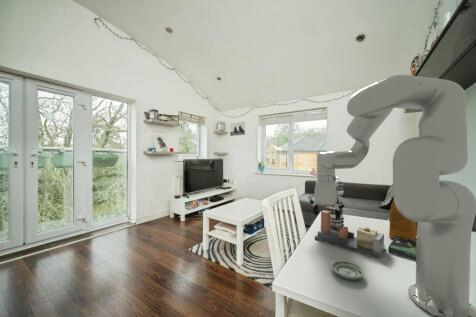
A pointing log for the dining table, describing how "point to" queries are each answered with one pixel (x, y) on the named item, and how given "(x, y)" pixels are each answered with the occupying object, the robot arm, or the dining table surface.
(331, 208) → the decorative candle
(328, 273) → the dining table surface
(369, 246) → the maple block
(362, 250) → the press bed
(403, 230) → the coffee package
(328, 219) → the reddish brown stepped block
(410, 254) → the disk drive
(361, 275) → the saucer
